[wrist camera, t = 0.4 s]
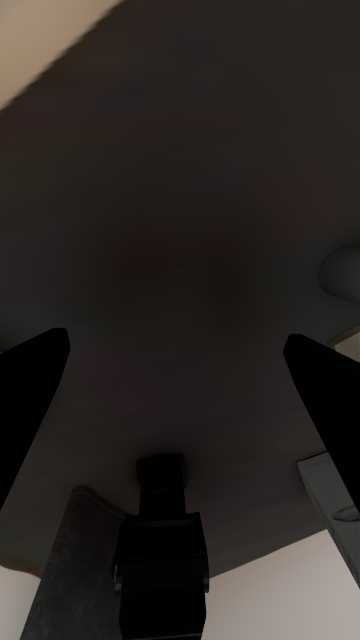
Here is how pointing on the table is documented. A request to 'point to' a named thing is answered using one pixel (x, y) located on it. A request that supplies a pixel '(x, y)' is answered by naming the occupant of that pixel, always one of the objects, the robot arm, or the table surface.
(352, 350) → the beige flat rectangular panel
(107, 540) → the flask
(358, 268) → the grey flared tumbler
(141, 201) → the table surface
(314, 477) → the supplement box
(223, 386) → the table surface
